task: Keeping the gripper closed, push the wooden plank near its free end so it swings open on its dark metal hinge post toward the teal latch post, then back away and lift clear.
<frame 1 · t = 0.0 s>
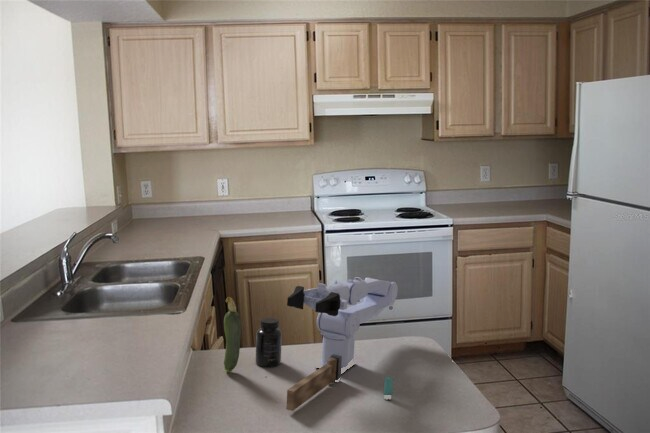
hand: (302, 304, 137), 22 cm above the counter, tool horizontal, fingers open, 7 cm apart
wooden plank: (313, 382, 137), point 4 cm above the counter, hinge at 0.0°
vegetable: (230, 373, 149), on the counter
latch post: (387, 398, 139), on the counter
supplement bottle: (267, 363, 157), on the counter
hinge post: (334, 380, 148), on the counter
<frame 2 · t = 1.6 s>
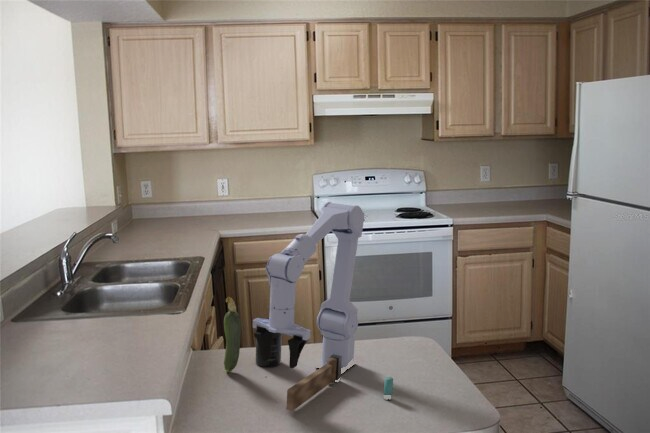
hand: (279, 363, 135), 8 cm above the counter, tool pointing down, fingers open, 7 cm apart
nothing on the counter moved.
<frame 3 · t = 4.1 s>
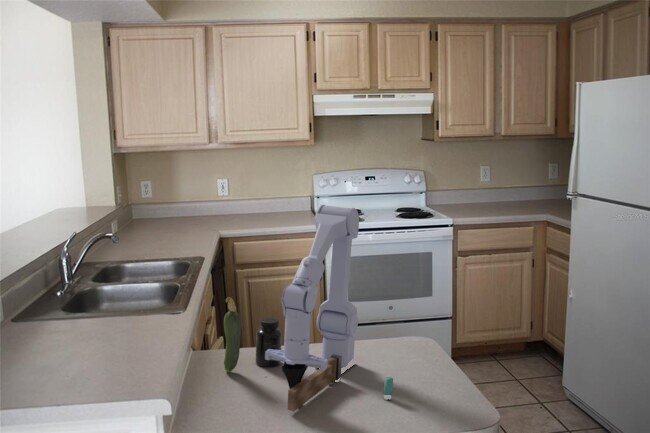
hand: (294, 393, 134), 2 cm above the counter, tool pointing down, fingers closed
wooden plank: (313, 383, 137), point 4 cm above the counter, hinge at 0.9°, touching gripper
everything else where it was.
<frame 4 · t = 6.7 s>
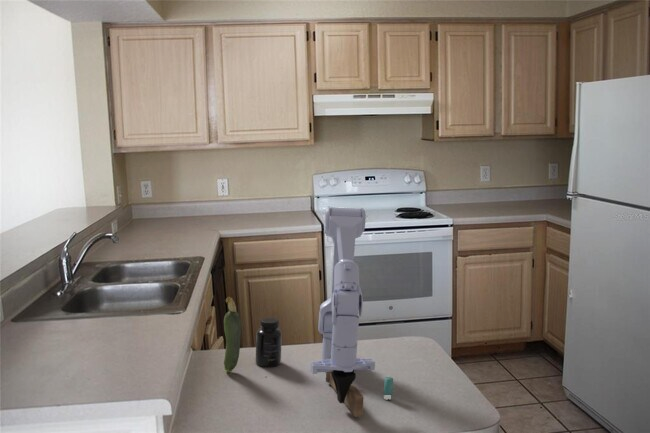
hand: (340, 401, 132), 2 cm above the counter, tool pointing down, fingers closed
wooden plank: (343, 385, 137), point 4 cm above the counter, hinge at 46.1°, touching gripper
everything else where it was.
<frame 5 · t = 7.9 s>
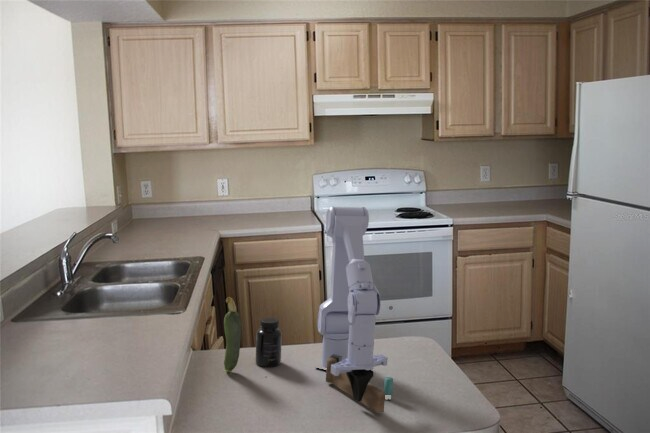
hand: (357, 399, 133), 2 cm above the counter, tool pointing down, fingers closed
wooden plank: (353, 384, 138), point 4 cm above the counter, hinge at 62.7°, touching gripper
everything else where it was.
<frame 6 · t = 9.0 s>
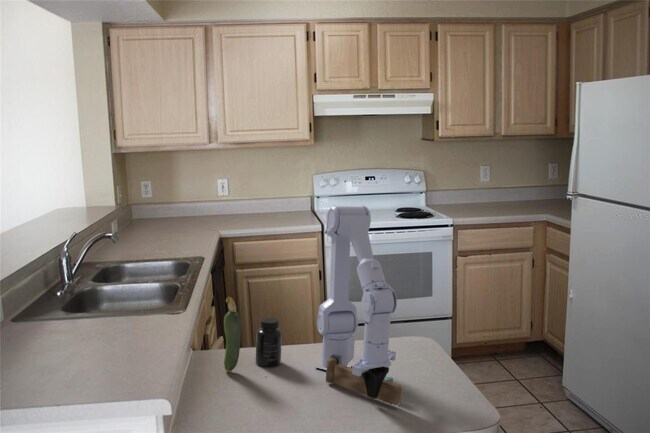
hand: (372, 396, 135), 2 cm above the counter, tool pointing down, fingers closed
wooden plank: (361, 381, 140), point 4 cm above the counter, hinge at 80.4°, touching gripper
everything else where it was.
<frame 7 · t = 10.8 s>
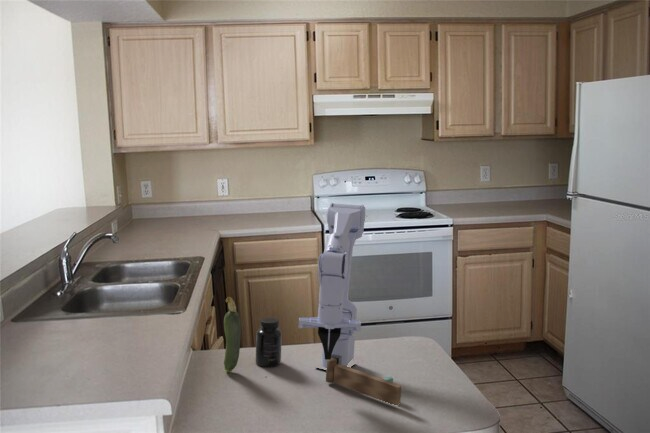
hand: (327, 358, 139), 9 cm above the counter, tool pointing down, fingers closed
wooden plank: (361, 381, 140), point 4 cm above the counter, hinge at 80.4°
everything else where it was.
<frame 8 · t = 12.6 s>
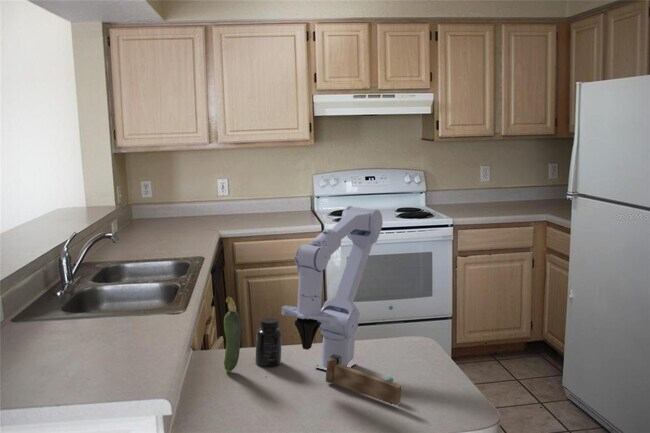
hand: (307, 348, 143), 9 cm above the counter, tool pointing down, fingers closed
nothing on the counter moved.
at the end: wooden plank at +80° (first picture: +0°); supplement bottle moved 0.2 cm from its start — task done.
